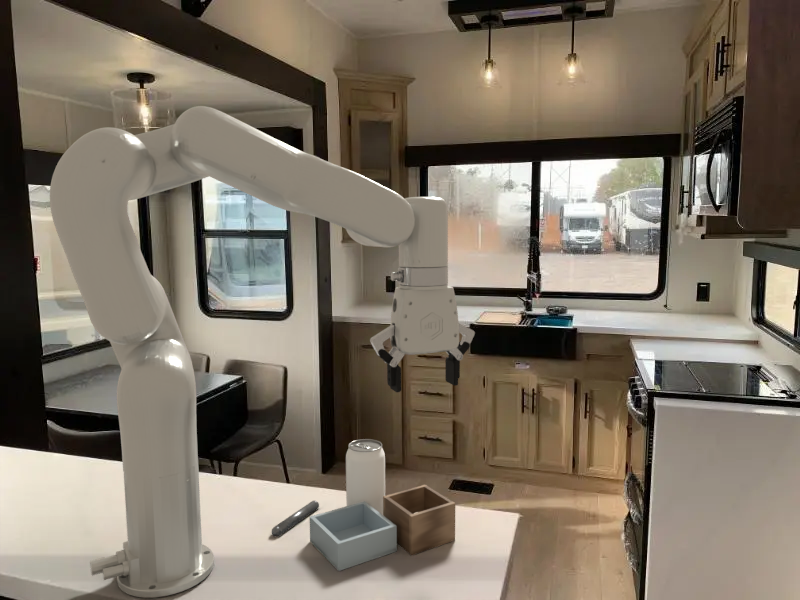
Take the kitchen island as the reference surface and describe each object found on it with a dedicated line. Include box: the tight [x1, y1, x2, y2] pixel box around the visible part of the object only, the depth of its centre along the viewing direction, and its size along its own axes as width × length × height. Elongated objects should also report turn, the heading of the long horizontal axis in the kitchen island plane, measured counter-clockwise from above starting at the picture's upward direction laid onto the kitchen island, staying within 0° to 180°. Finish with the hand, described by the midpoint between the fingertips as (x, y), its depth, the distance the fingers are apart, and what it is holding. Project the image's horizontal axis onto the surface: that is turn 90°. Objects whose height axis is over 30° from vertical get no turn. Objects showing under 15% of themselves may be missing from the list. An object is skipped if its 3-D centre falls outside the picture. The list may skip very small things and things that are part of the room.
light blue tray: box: [309, 501, 398, 572], centre depth 91 cm, size 10×10×4 cm
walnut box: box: [383, 484, 456, 556], centre depth 94 cm, size 8×8×6 cm
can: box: [345, 438, 386, 515], centre depth 101 cm, size 6×6×12 cm
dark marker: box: [271, 500, 320, 538], centre depth 99 cm, size 12×2×2 cm, turn 153°
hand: (424, 386), depth 95 cm, fingers open, 9 cm apart
